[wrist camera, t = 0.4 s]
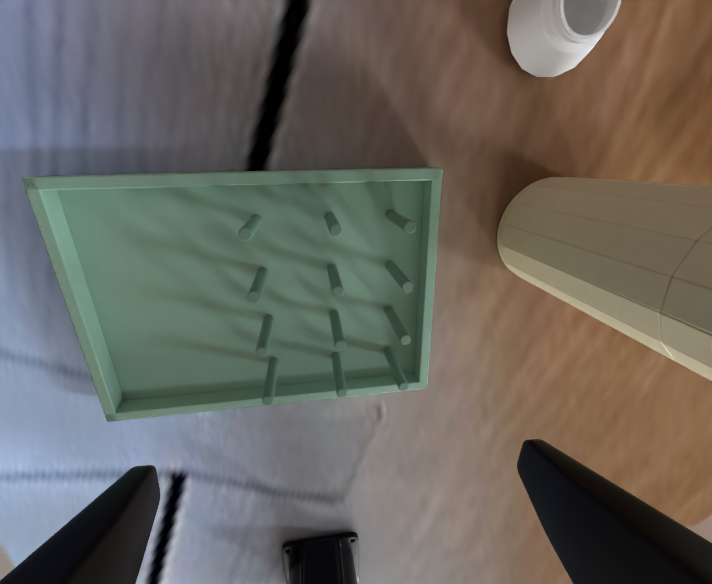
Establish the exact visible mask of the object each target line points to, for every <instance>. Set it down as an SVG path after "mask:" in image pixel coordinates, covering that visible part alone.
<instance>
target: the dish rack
mask: <svg viewBox="0 0 712 584" xmlns="http://www.w3.org/2000/svg"><path fill="white" fill-rule="evenodd" d="M442 171H443V169H442V168H432V167H423V168H376V169H328V170H281V171H234V172H187V173H139V174H92V175H49V176H32V177H22V181H23V184H24V187H25V189H26V192H27V195H28V198H29V201H30V204H31V206H32V209H33V212H34V215H35V218H36V221H37V223H38V226H39V229H40V232H41V235H42V238H43V240H44V243H45V246H46V249H47V252H48V255H49V258H50V260H51V263H52V266H53V269H54V272H55V275H56V277H57V280H58V283H59V286H60V289H61V292H62V294H63V297H64V300H65V303H66V306H67V309H68V311H69V314H70V317H71V320H72V323H73V326H74V329H75V331H76V334H77V337H78V340H79V343H80V346H81V348H82V351H83V354H84V357H85V360H86V363H87V365H88V368H89V371H90V374H91V377H92V380H93V382H94V385H95V388H96V391H97V394H98V397H99V399H100V402H101V405H102V408H103V411H104V414H105V417H106V419H107V422H111V421H120V420H129V419H139V418H149V417H158V416H168V415H177V414H187V413H196V412H206V411H215V410H225V409H235V408H244V407H254V406H263V405H273V404H282V403H292V402H301V401H311V400H320V399H330V398H340V397H349V396H359V395H368V394H378V393H387V392H397V391H406V390H416V389H426V388H427V382H428V367H429V353H430V339H431V325H432V311H433V297H434V283H435V269H436V255H437V240H438V226H439V212H440V198H441V184H442Z"/></svg>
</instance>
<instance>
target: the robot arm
mask: <svg viewBox="0 0 712 584" xmlns="http://www.w3.org/2000/svg"><path fill="white" fill-rule="evenodd" d="M517 469H518V473H519V475H520V478H521V480H522V482H523V484H524V486H525V489H526V491H527V493H528V495H529V497H530V500H531V502H532V504H533V506H534V509H535V511H536V513H537V515H538V517H539V520H540V522H541V524H542V526H543V528H544V530H545V532H546V534H547V536H548V538H549V540H550V542H551V544H552V546H553V548H554V550H555V551H556V553H557V555H558V557H559V559H560V560H561V562H562V564H563V566H564V568H565V569H566V571H567V573H568V575H569V577H570V578H571V580H572V582H573V584H712V543H711V542H709V541H707V540H706V539H704V538H702V537H701V536H699V535H697V534H696V533H694V532H693V531H691V530H689V529H688V528H686V527H684V526H683V525H681V524H679V523H678V522H676V521H675V520H673V519H671V518H670V517H668V516H666V515H665V514H663V513H661V512H660V511H658V510H656V509H655V508H653V507H652V506H650V505H648V504H647V503H645V502H643V501H642V500H640V499H638V498H637V497H635V496H633V495H632V494H630V493H628V492H627V491H625V490H624V489H622V488H620V487H619V486H617V485H615V484H614V483H612V482H610V481H609V480H607V479H605V478H604V477H602V476H601V475H599V474H597V473H596V472H594V471H592V470H591V469H589V468H587V467H586V466H584V465H582V464H581V463H579V462H578V461H576V460H574V459H573V458H571V457H569V456H568V455H566V454H564V453H563V452H561V451H559V450H558V449H556V448H554V447H553V446H551V445H550V444H548V443H546V442H545V441H543V440H540V439H532V440H525V441H524V442H523V445H522V448H521V452H520V455H519V459H518V462H517ZM159 501H160V488H159V483H158V478H157V472H156V469H155V467H154V466H152V465H147V466H136V467H133V468H131V469H130V470H129V471H128V472H126V473H125V474H124V475H123V476H122V477H121V478H119V479H118V480H117V481H116V482H115V483H114V484H112V485H111V486H110V487H109V488H108V489H107V490H105V491H104V492H103V493H102V494H101V495H100V496H98V497H97V498H96V499H95V500H94V501H93V502H91V503H90V504H89V505H88V506H87V507H86V508H84V509H83V510H82V511H81V512H80V513H79V514H77V515H76V516H75V517H74V518H73V519H72V520H70V521H69V522H68V523H67V524H66V525H65V526H63V527H62V528H61V529H60V530H59V531H58V532H56V533H55V534H54V535H53V536H52V537H51V538H49V539H48V540H47V541H46V542H45V543H44V544H43V545H41V546H40V547H39V548H38V549H37V550H36V551H34V552H33V553H32V554H31V555H30V556H29V557H27V558H26V559H25V560H24V561H23V562H22V563H20V564H19V565H18V566H17V567H16V568H15V569H13V570H12V571H11V572H10V573H9V574H8V575H6V576H5V577H4V578H3V579H2V580H1V581H0V584H135V583H136V580H137V577H138V574H139V571H140V567H141V564H142V560H143V557H144V553H145V550H146V547H147V543H148V540H149V536H150V533H151V529H152V526H153V522H154V519H155V516H156V512H157V509H158V505H159ZM282 556H283V563H284V570H285V577H286V583H287V584H357V582H358V581H359V557H358V535H357V533H355V532H349V533H342V534H336V535H329V536H323V537H317V538H310V539H304V540H297V541H291V542H286V543H284V544H283V545H282Z"/></svg>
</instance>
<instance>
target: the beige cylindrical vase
mask: <svg viewBox="0 0 712 584" xmlns="http://www.w3.org/2000/svg"><path fill="white" fill-rule="evenodd" d="M497 246H498V251H499V254H500V257H501V259H502V261H503V263H504V264H505V265H506V267H507V268H508V269H509V270H510V271H512V272H513V273H515V274H516V275H517V276H519V277H521V278H522V279H524V280H526V281H528V282H530V283H532V284H533V285H535V286H537V287H539V288H541V289H543V290H545V291H546V292H548V293H550V294H552V295H554V296H556V297H557V298H559V299H561V300H563V301H565V302H567V303H569V304H570V305H572V306H574V307H576V308H578V309H580V310H581V311H583V312H585V313H587V314H589V315H591V316H593V317H594V318H596V319H598V320H600V321H602V322H604V323H605V324H607V325H609V326H611V327H613V328H615V329H617V330H618V331H620V332H622V333H624V334H626V335H628V336H629V337H631V338H633V339H635V340H637V341H639V342H641V343H642V344H644V345H646V346H648V347H650V348H652V349H653V350H655V351H657V352H659V353H661V354H663V355H664V356H666V357H668V358H670V359H672V360H674V361H676V362H678V363H679V364H681V365H683V366H685V367H687V368H689V369H690V370H692V371H694V372H696V373H698V374H700V375H702V376H703V377H705V378H707V379H709V380H711V381H712V186H706V185H690V184H674V183H658V182H642V181H626V180H611V179H595V178H579V177H548V178H544V179H541V180H538V181H536V182H534V183H532V184H530V185H528V186H527V187H526V188H524V189H523V190H522V191H520V192H519V193H518V194H517V195H516V196H515V197H514V198H513V199H512V201H511V202H510V203H509V205H508V206H507V208H506V210H505V211H504V213H503V216H502V218H501V220H500V224H499V227H498V233H497Z"/></svg>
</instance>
